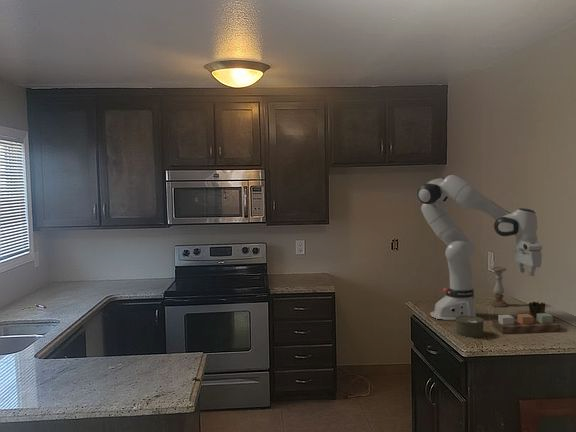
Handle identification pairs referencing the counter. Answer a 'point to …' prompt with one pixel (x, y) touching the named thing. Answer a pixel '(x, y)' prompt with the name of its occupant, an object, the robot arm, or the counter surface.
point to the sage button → (544, 318)
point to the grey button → (505, 319)
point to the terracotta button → (525, 318)
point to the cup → (536, 308)
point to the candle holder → (498, 288)
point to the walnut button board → (526, 327)
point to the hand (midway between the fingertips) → (526, 274)
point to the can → (469, 326)
